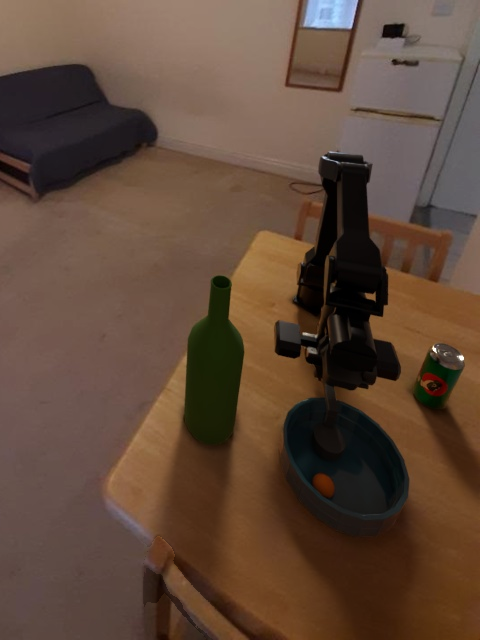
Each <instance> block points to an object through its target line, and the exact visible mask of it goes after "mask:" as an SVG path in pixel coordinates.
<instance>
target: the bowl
mask: <svg viewBox="0 0 480 640" xmlns="http://www.w3.org/2000/svg"><path fill="white" fill-rule="evenodd" d="M336 401H337V407H338V414H337V417H336V418H335V422H334V426H335V427H336V428H338V429H339V430H340V431H341V433H342V434H343V436H344V438H345V441H346V448H345V450H344V453H343V456H342V458H341V459H340V460H338V461H328V460H325V459H324V458H322V457H321V456H319V455H318V454H317V453H316V451H315V450H314V448H313V446H312V443H311V437H312V433H313V430H314V427H315V425H317V424H318V423H321V422H324V418H325V415H326V412H327V409H326V402H325V396H323V397H321V396H319V397H308V398H306V399H303V400H301V401H298V402H296V403H295V404H294V405H293V407H292V408H290V409H289V410H288V411H287V413H286V415H285V418H284V422H283V425H282V429H281V434H280V437H279V442H278V447H279V448H278V451H279V452H278V453H279V462H280V466H281V469H282V472H283V475H284V478H285V481H286V482H287V485H289V487H290V489H291V490H292V492H293V494H294V495H295V497H296V499H297V500H298V501H299V502H300V503H301V504H302V505H303V506H304V507H305V508H306V509H307V511H309V513H311V515H312V516H313V517H314V518H316V519H317V520H319V521H321V522H322V523H324V524H325V525H327V526H328V527H329V528H331V529H332V530H335V531H336V532H339V533H343V534H346V535H349V536H352V537H355V538H375V537H378V536H380V535H383V534H384V533H386V532H388V531H389V530H391V529H392V528H393V526H394V524H395V523H396V521H397V519H398V518H399V516H400V515H401V513H402V510H403V509H404V507H405V505H406V503H407V500H408V499H409V489H410V476H409V472H408V469H407V465H406V461H405V459H404V457H403V455H402V453H401V452H400V449H399V448H398V447H397V445H396V443H395V441H394V439H393V438H392V437H391V436H390V435H389V434H388V433H387V432H386V430H385V429H384V428H383V427H382V426H381V424H380V423H378V422H377V421H375V420H374V419H373V418H372V417H370V416H369V415H368V414H367V413H365V412H364V411H362V410H361V409H359V408H357V407H355V406H353V405H352V404H349V403H347V402H345V401H343V400H339V399H336ZM318 473H323V474H326V475H327V476H328V477H329V478H330V479H331V480H332V482H333V484H334V488H335V491H334V494H333V496H332V497H330V498H325V497H323V496H322V495H321V494H320V493H319V492H318V491H317V490H316V489H315V488H314V487H313V478H314V476H315V475H316V474H318Z"/></svg>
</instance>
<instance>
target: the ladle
mask: <svg viewBox="0 0 480 640" xmlns="http://www.w3.org/2000/svg"><path fill="white" fill-rule="evenodd" d="M313 377H314V378H315V379H318V378H317V373H316V369H315V368H314V371H313ZM321 383H322V389H323V394H324V397H325V402H326V409H327V412H326V415H325V418H324V422H321V423H318V424H317V425H315V427H314V430H313V433H312V437H311V443H312V446H313V448H314V450H315V451H316V453H317V454H318V455H319V456H321V457H322V458H324V459H325V460H328V461H338V460H340V459H341V458H342V456H343V453H344V450H345V448H346V441H345V438H344V436H343V434H342V433H341V431H340V430H339V429H338V428H336V427H335V426H334V422H335V418H336V417H337V414H338V407H337V401H336V400H337V396H336V389H335V386H329V385H327V384H326V383H325V382H324V380H323V374H322V379H321Z"/></svg>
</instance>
